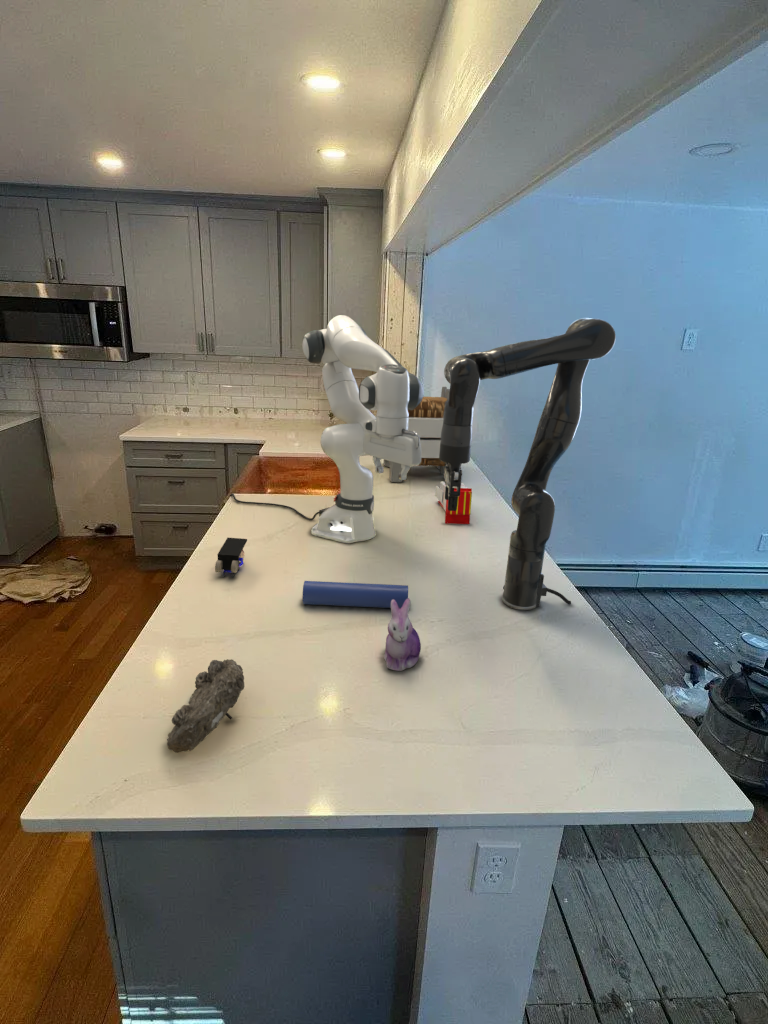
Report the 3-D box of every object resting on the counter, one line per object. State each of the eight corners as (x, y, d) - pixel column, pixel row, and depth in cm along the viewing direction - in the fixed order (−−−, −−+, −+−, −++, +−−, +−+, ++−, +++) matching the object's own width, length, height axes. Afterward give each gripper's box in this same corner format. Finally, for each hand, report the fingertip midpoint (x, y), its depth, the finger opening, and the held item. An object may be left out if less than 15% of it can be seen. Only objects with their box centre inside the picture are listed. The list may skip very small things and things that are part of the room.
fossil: (192, 660, 117) (244, 628, 112) (224, 691, 120) (276, 661, 115) (142, 746, 98) (202, 712, 93) (182, 779, 101) (242, 748, 96)
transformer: (382, 463, 289) (386, 382, 275) (445, 464, 293) (451, 384, 279) (390, 482, 257) (394, 392, 243) (460, 483, 261) (468, 394, 247)
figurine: (394, 677, 122) (397, 616, 117) (372, 652, 130) (375, 594, 125) (431, 667, 126) (436, 607, 121) (408, 643, 134) (412, 587, 129)
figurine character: (238, 584, 162) (249, 557, 175) (236, 562, 158) (247, 536, 172) (215, 584, 161) (227, 556, 175) (212, 561, 158) (225, 535, 171)
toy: (463, 477, 236) (476, 489, 206) (461, 509, 239) (474, 525, 209) (433, 476, 235) (443, 488, 206) (432, 508, 238) (441, 524, 209)
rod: (302, 608, 148) (302, 587, 146) (305, 597, 154) (305, 576, 152) (407, 613, 148) (408, 592, 146) (406, 601, 154) (408, 581, 152)
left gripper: (427, 431, 149) (425, 481, 153) (376, 420, 163) (375, 467, 168) (410, 433, 145) (408, 485, 149) (359, 422, 159) (358, 470, 164)
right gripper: (475, 449, 131) (468, 515, 137) (467, 436, 144) (462, 496, 150) (442, 447, 131) (437, 513, 137) (438, 435, 144) (433, 495, 150)
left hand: (390, 475), depth 159 cm, fingers open, 8 cm apart
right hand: (450, 504), depth 143 cm, fingers open, 8 cm apart
